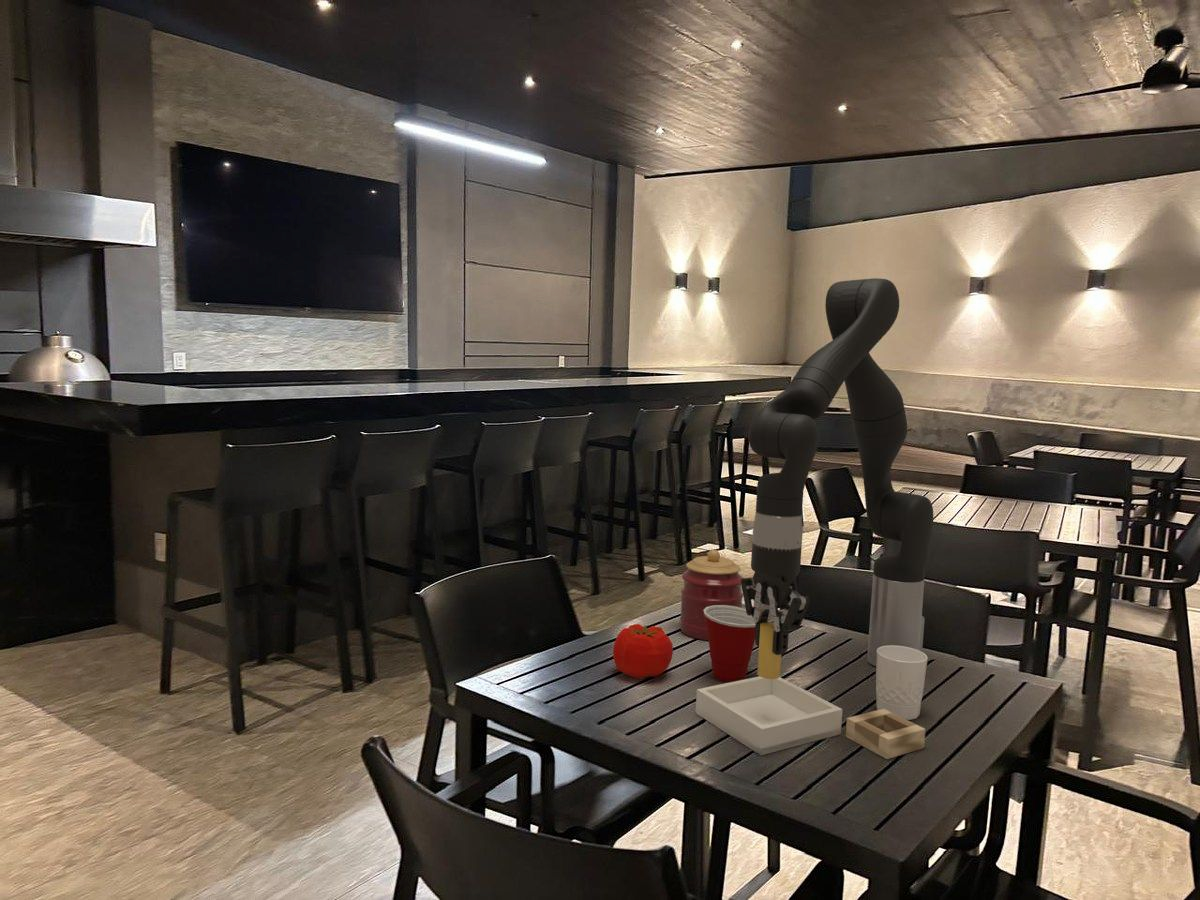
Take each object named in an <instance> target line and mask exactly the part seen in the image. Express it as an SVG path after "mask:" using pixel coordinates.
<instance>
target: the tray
mask: <svg viewBox="0 0 1200 900" xmlns="http://www.w3.org/2000/svg"><path fill="white" fill-rule="evenodd" d="M695 699H696V701H695V704H696V705H695V714H697V715H698V716H699V717H700V718H702V719H704V720H705V721H707V722H708V723H710V724H711V725H713V726H715V727H716V728H718V729H719V730H721V731H723V733H726V734H727V735H729V736H730V737H731V738H733V739H735V740H736V741H738V742H739V743H741V744H743V745H744V746H745V747H747V748H749V749H750V750H752V751H753V752H755V753H757V755H759V756H764V755H767V754H772V753H776V752H779V751H782V750H786V749H790V748H794V747H797V746H801V745H804V744H809V743H812V742H816V741H820V740H824V739H828V738H831V737H834V736H835V737H836V736H838V735H839V736H840V735H841V734H842V721H843V708H841V707H839V706H837V705H835V704H833V703H831V702H829V701H827V700H825V699H824V698H822V697H819V696H817V695H815V694H814V693H811V692H809V691H808V690H806V689H804V688H801V687H800V686H799V685H796V684H794V683H792V682H790V681H788V680H786V679H784V678H782V677H781V676H780V677H779V678H777V679H766V678H762V677H760V676H755V677H750V678H745V679H744V680H740V681H735V682H725V683H721V684H715V685H711V686H707V687H706V686H705V687H702V688H697V689H696V698H695Z"/></svg>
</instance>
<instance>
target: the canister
mask: <svg viewBox="0 0 1200 900" xmlns="http://www.w3.org/2000/svg"><path fill="white" fill-rule="evenodd" d="M685 567H686V568H687V570H685V571H684V572H683V573H682V574H681V578H682V580H683V587H682V588H681V590H680V594H681V603H680V606H681V607H680V617H679V626H680V631H681V632H682V633H683V634H684V635H687V636H689V637H691V638H694V639H697V640H702V641H709V638H708V629H707V622H706V617H705V614H704V609H705V608H706V607H709V606H713V605H727V606H735V607H740V608H743V605H742V604H743V598H744V597H743V591H742V586H741V579H742V578H744V577H743V576H742V575H741V574H740V573H739V572H740V571H741V566H739V565H738V564H737V563H735V562H734V560H732V559H731V558H730V559H729V558H727V557H723V556H721V554H720V552H719V550H717V549H711V550H709V551H708V553H707V555H704V556H702V555H701V556H697V557H694V558H693V559H692V560H689V562H687V563H686V566H685Z"/></svg>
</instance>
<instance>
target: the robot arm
mask: <svg viewBox="0 0 1200 900" xmlns="http://www.w3.org/2000/svg"><path fill="white" fill-rule="evenodd" d="M899 311H900V296H899V291H898V290H897V286H896V285H895V283H893V282H892V281H891V280H889V279H886V278H877V277H876V278H875V277H874V278H864V279H851V280H842V281H837V282H833V284H832V285H830V286H829V287H828V290H827V292H826V295H825V315H826V320H827V325H828V330H829V332H830V336H831V339H832V340H831V341H829V342H828V343H826V344H825V345H824V346H823V347H821V348H819V349H818V350H817V351H815V352H814V353H812V354H811V355H810V356H809V357H808V358H807V359H806V360H805V361H804V362H803V363H802V364H801V366H799V369H798V370H797V371H796V373H795V375H793V378H792V380H791V381H790V383H789V384H788V386H787V387H786V388H785V389H784V390H782V391H781V392H780V393H779V394H778V395H776V396H775V397H773V399H772V400H771V401H770V402H768V403H767V404H766V405H765V406H763V408H761V409H760V410H759V411H758V412H757V413H756V415H755V416H754V418H753V419H752V420H751V423H750V425H749V426H750V427H749V430H748V436H747V439H748V445H749V446H750V449H751V450H752V451H753V452H754V453H755V454H756V455H758V456H761V457H764V458H770V459H781V460H784V464H783V466H782V468H781V470H780V471H779V472H773V473H766V474H763V475H761V476H760V477H759V478H758V480H757V483H756V484H757V486H756V498H755V499H756V502H755V514H754V520H753V525H752V541H751V542H752V543H751V559H750V568H751V570H752V571H753V572H754V573H753V575H752V576H751V577H743V578H742V579H741V592H742V593H743V597H742V598H743V601H744V602H743V603H744V606H745V607H744V609H746V613H747V615H749V616H750V615H751V616H752V617H753V620H754V622H756V624H755V642H754V645H755V646H757V647H759V638H760V624H761V623H763V622H770V618H771V617H773V622H774V629H775V631H774V634H773V650H772V652H773V653H774V654H776V655H781V656H782V655H784V654H786V652H787V651H788V649H789V648H788V647H789V635H790V634H789V633H790V631H796V630H799V629H800V628H801V625H802V624H803V620H804V618H805V615H806V612H807V610H808V608H809V605H810V602H811V600H810V597H809V596H807V595H806V596H802V594H800V593H799V591H798V586H797V583H796V577H797V576H798V575H799V574H800V572H801V565H802V564H801V563H802V562H801V561H802V549H803V548H802V547H803V546H802V545H803V532H804V530H803V527H804V526H803V505H804V504H803V503H804V489H805V485H806V483H807V479H808V476H809V472H810V470H811V466H812V463H813V461H814V459H815V456H816V453H817V450H818V446H819V442H820V431H819V427H818V425H817V423H816V422H815V420H817V419H819V418H821V417H823V415H824V414H825V413H826V411H827V409H828V407H830V405H831V403H832V402H833V400H834V398H835V397H836V395H837V393H838V392H839V390H840V388H841V387H842V385H843V383H844V385H845V391H846V394H847V400H848V404H849V405H848V406H849V413H850V417H851V422H852V427H853V428H852V429H853V431H854V436H855V439H856V445H857V449H858V453H859V454H858V455H859V460H860V466H861V472H862V479H863V487H864V488H863V490H864V500H865V510H866V517H867V523H868V526H869V529H870V530H871V532H872V533H873V535H875V536H876V537H879V538H882V539H887V540H891V541H894V542H895V541H897V542H900V548H899V551H898V553H896V554H891V555H885V556H880V557H878V558H876V559H875V560H874V562H873V573H872V584H871V585H872V586H871V600H870V615H869V616H870V617H869V628H868V631H869V632H868V644H867V657H866V658H867V659H866V660H867V662H868V663H869V664H870V665H872V666H874V667H876V661H877V649H878V648H879V647H882V646H890V645H893V646H904V647H909V648H913V649H916V650H919V651H921V652H923V644H924V632H925V630H924V629H925V616H924V615H923V603H924V588H925V576H926V570H927V566H928V563H929V557H930V556H929V555H930V549H931V542H932V541H931V539H932V533H933V529H934V528H933V527H934V507H933V504H932V501H931V500H930V499H929V498H928V497H926V495H925V496H924V495H920V494H914V493H908V492H903V491H895V489H894V487H893V483H892V477H891V476H892V475H891V474H892V473H891V472H892V471H891V470H892V466H893V464H894V461H895V459H896V458H897V456H898V454H899V453H900V450H901V449H902V446H903V445H904V443H905V441H906V438H907V434H908V422H907V420H908V419H907V415H906V409H905V403H904V398H903V395H902V393H901V392H900V389H898V387H897V386H896V384H895V382H893V381H892V380H891V378H890V377H889V376H888V375H887V374H886V373H885V372H884V371H883V369H882V368H881V366H879V365H878V363H877V362H876V361H875V360H874V358H873V357H872V355H871V354H870V352H871V351H872V349H874V347H875V346H876V345H877V344H878V343H879V342H880V341H881V340H882V338H883V337H884V336H885V335H886V334H887V333H888V332H889V331H890V329H891V328H892V327H893V326H894V324H895V322H896V320H897V319H898V315H899ZM752 600H753V603H752ZM782 620H783V622H782Z"/></svg>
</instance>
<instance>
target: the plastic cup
mask: <svg viewBox="0 0 1200 900" xmlns="http://www.w3.org/2000/svg"><path fill="white" fill-rule="evenodd" d="M704 614H705V617H706V622H707V629H708V638H709V640H708V646H709V656H710V660H711V669H712V675H713V677H714V679H716V680H718V681H721V682H725V683H730V682H735V681H740V680H745V679H746V676H747V672H748V668H749V663H750V661H751V657H752V654H753V649H754V645H755V624H756V622H754V620H753V617H752V616H751V615H750V616H749V615H747V613H746V608H745V607H744V608H743V607H742V608H740V607H735V606H727V605H713V606H709V607H706V608H705V609H704Z"/></svg>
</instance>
